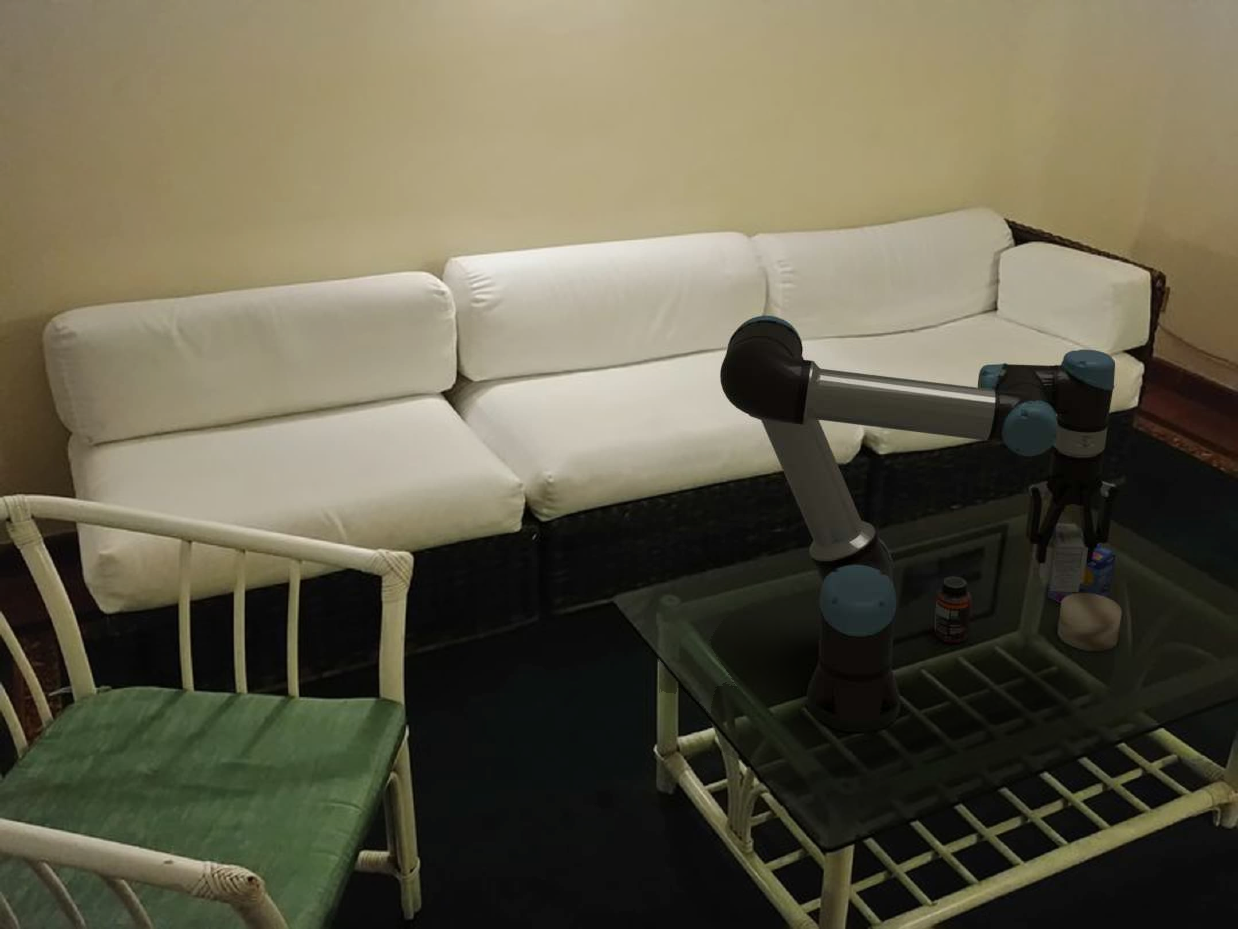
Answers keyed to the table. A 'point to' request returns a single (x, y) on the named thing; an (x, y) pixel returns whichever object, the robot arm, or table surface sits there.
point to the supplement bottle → (953, 611)
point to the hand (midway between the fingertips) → (1060, 578)
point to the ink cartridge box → (1093, 576)
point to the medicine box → (1066, 558)
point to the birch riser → (1089, 621)
